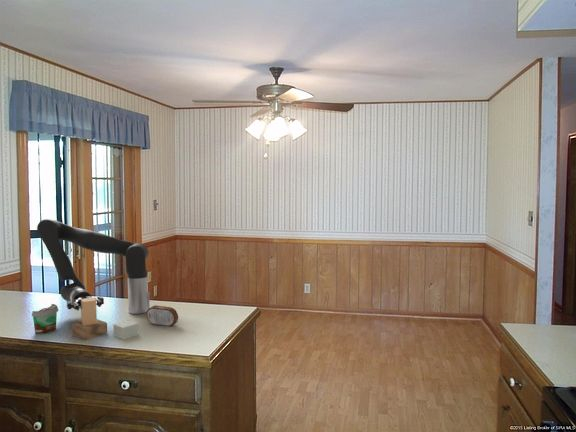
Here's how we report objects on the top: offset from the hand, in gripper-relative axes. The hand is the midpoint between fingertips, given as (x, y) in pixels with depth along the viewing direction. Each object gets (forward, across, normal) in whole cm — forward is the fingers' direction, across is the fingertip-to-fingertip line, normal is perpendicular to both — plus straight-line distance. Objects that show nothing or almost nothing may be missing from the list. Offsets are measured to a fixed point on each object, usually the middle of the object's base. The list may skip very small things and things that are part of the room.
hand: (89, 306), depth 190 cm
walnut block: (0, 0, +12) cm, 12 cm away
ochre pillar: (0, 0, +7) cm, 7 cm away
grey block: (+10, +12, +12) cm, 20 cm away
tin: (+6, +29, +12) cm, 32 cm away
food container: (-15, -13, +12) cm, 23 cm away
